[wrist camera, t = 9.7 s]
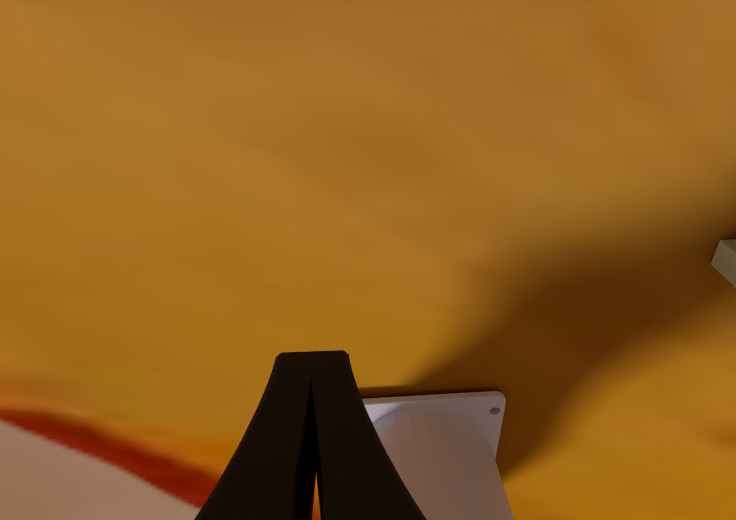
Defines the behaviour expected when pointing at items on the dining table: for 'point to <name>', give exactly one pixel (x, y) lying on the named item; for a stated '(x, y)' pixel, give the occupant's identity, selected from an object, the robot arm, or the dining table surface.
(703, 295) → the dining table surface
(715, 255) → the grey rectangular box
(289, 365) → the robot arm
